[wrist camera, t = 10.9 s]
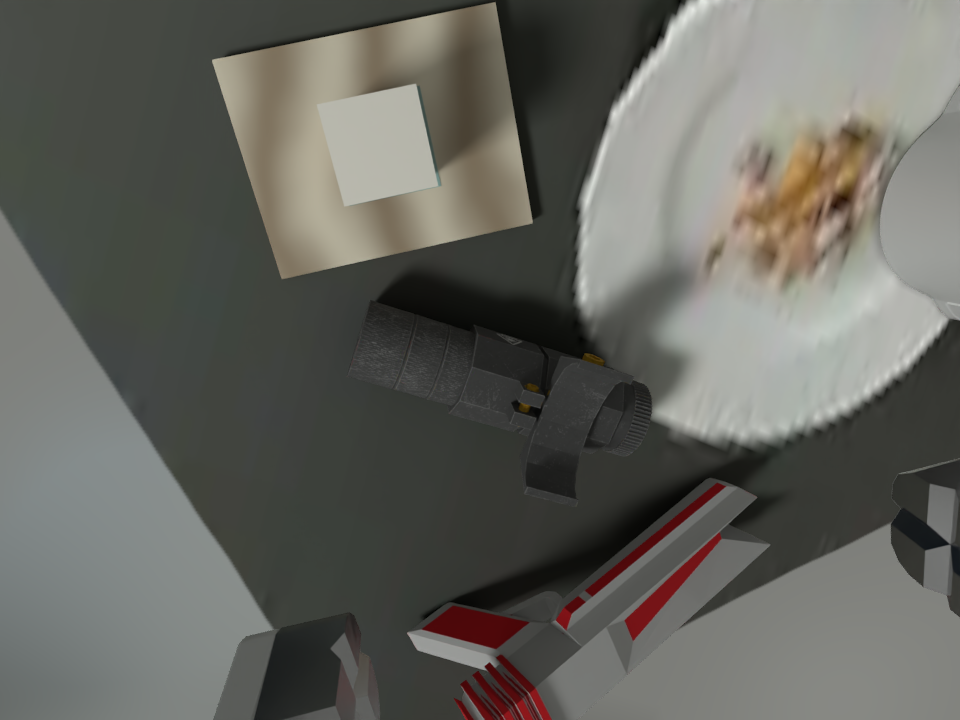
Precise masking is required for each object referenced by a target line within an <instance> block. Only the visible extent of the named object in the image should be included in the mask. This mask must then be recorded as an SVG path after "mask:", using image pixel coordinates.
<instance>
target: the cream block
mask: <svg viewBox="0 0 960 720" xmlns="http://www.w3.org/2000/svg"><path fill="white" fill-rule="evenodd" d="M317 108H318V111H319V115H320V119H321V123H322V126H323V130H324V134H325V137H326V141H327V145H328V148H329V152H330V156H331V159H332V163H333V167H334V170H335V174H336V178H337V181H338V185H339V189H340V192H341V196H342V200H343V203H344V207H345V206H350V205H354V204H359V203H364V202H368V201H373V200H377V199H382V198H386V197H391V196H396V195H400V194H405V193H409V192H414V191H419V190H423V189H428V188H432V187H437V186H438V182H437V178H436V173H435V169H434V164H433V159H432V155H431V150H430V146H429V141H428V136H427V132H426V127H425V123H424V118H423V113H422V109H421V104H420V100H419V95H418V90H417V86H416V84H412V85H407V86H402V87H398V88H393V89H388V90H383V91H379V92H374V93H369V94H364V95H359V96H355V97H350V98H345V99H340V100H336V101H331V102H326V103H321V104H317Z"/></svg>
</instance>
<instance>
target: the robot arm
mask: <svg viewBox="0 0 960 720" xmlns="http://www.w3.org/2000/svg"><path fill="white" fill-rule="evenodd" d="M880 237H881V244H882V248H883V252H884V255H885V257H886V260H887V262H888V264H889V266H890V267H891V269H892V270H893V272H894V273H895V274H896V276H897V277H898V278H899V279H900V280H901V281H903V282H904V283H905V284H906V285H908V286H909V287H911V288H913V289H915V290H917V291H919V292H922V293H924V294H926V295H928V296H929V297H931V298H932V299H933V300H934V302H935V303H936V305H937V306H938V308H939V309H940V310H941V312H942V313H943V314H944V315H945V316H946V317H948V318H950V319H955V320H960V85H959V87H958V88H957V90H956V91H955V93H954V95H953V96H952V98H951V100H950V102H949V103H948V105H947V107H946V109H945V111H944V113H943V114H942V115H941V117H940V118H939V119H938V120H937V121H936V122H935V123H934V124H933V125H932V126H931V127H930V128H929V129H928V130H927V131H926V132H924V133H923V134H922V135H921V136H920V137H919V138H918V139H917V140H916V141H915V143H914V144H913V145H912V146H911V147H910V148H909V150H908V151H907V152H906V154H905V155H904V157H903V158H902V160H901V161H900V163H899V164H898V166H897V168H896V170H895V171H894V173H893V175H892V178H891V180H890V182H889V185H888V187H887V190H886V193H885V196H884V200H883V204H882V209H881V217H880ZM892 500H893V501H894V502H895V503H896V504H897V505H898V506H899V507H900V508H901V509H900V511H899V512H898V514H897V515H896V517H895V518H894V520H893V521H892V523H891V544H892V546H893V549H894V551H895V554H896V556H897V558H898V561H899V562H900V564H901V565H902V566H903V568H904V569H905V570H906V571H907V573H908V574H909V575H910V576H911V577H912V578H913V579H915V580H916V581H917V582H918V583H919V584H920V585H922V586H923V587H925V588H927V589H930V590H933V591H936V592H939V593H942V594H944V595H947V597H948V602H949V607H950V610H951V611H953V612H954V613H955V614H956V615H958V616H959V617H960V458H959V459H955V460H951V461H947V462H943V463H939V464H935V465H931V466H927V467H924V468H920V469H916V470H912V471H908V472H904V473H900V474H898V475H897V477H896V479H895V480H894V482H893V484H892ZM360 643H361V632H360V629H359V626H358V624H357V621H356V619H355V616H354V615H353V614H351V613H350V612H348V613H344V614H339V615H335V616H331V617H326V618H322V619H317V620H313V621H309V622H304V623H300V624H296V625H291V626H287V627H282V628H281V629H276V630H272V631H267V632H263V633H259V634H255V635H250V636H246V637H245V638H244V639H243V640H242V641H241V642H240V643H239V645H238V647H237V650H236V653H235V657H234V659H233V662H232V666H231V668H230V671H229V674H228V678H227V680H226V683H225V686H224V689H223V692H222V695H221V698H220V701H219V704H218V707H217V710H216V713H215V716H214V719H213V720H380V706H379V696H378V687H377V682H376V678H375V673H374V670H373V667H372V664H371V660H370V658H369V657H368V656H366V655H365V654H363V653H361V652H360Z"/></svg>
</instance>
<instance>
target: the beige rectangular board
mask: <svg viewBox="0 0 960 720" xmlns="http://www.w3.org/2000/svg"><path fill="white" fill-rule="evenodd" d="M212 62H213V65H214V68H215V71H216V75H217V78H218V81H219V84H220V87H221V90H222V93H223V96H224V100H225V103H226V106H227V109H228V112H229V115H230V118H231V122H232V125H233V128H234V131H235V134H236V137H237V140H238V143H239V147H240V150H241V153H242V156H243V159H244V162H245V165H246V168H247V172H248V175H249V178H250V181H251V184H252V187H253V190H254V194H255V197H256V200H257V203H258V206H259V209H260V212H261V215H262V219H263V222H264V225H265V228H266V231H267V234H268V237H269V240H270V244H271V247H272V250H273V253H274V256H275V259H276V262H277V266H278V269H279V272H280V275H281V278H282V279H285V278H289V277H294V276H298V275H303V274H307V273H312V272H316V271H321V270H325V269H330V268H334V267H339V266H343V265H348V264H352V263H356V262H361V261H365V260H370V259H374V258H379V257H383V256H388V255H392V254H397V253H401V252H406V251H410V250H415V249H419V248H424V247H428V246H433V245H437V244H442V243H446V242H451V241H455V240H460V239H464V238H468V237H473V236H477V235H482V234H486V233H491V232H495V231H500V230H504V229H509V228H513V227H518V226H522V225H527V224H531V223H533V221H532V215H531V209H530V203H529V197H528V191H527V185H526V180H525V174H524V168H523V162H522V156H521V150H520V144H519V138H518V132H517V126H516V120H515V114H514V109H513V103H512V97H511V91H510V85H509V79H508V73H507V67H506V61H505V55H504V49H503V44H502V38H501V32H500V26H499V20H498V14H497V8H496V2H493V3H488V4H484V5H479V6H474V7H469V8H464V9H459V10H454V11H449V12H444V13H439V14H435V15H430V16H425V17H420V18H415V19H410V20H405V21H400V22H395V23H391V24H386V25H381V26H376V27H371V28H366V29H361V30H356V31H351V32H347V33H342V34H337V35H332V36H327V37H322V38H317V39H312V40H307V41H302V42H298V43H293V44H288V45H283V46H278V47H273V48H268V49H263V50H258V51H254V52H249V53H244V54H239V55H234V56H229V57H224V58H219V59H214V60H212ZM412 84H416V86H417V90H418V95H419V100H420V104H421V109H422V113H423V118H424V123H425V127H426V132H427V136H428V141H429V146H430V150H431V155H432V159H433V164H434V169H435V173H436V178H437V182H438V186H437V187H432V188H428V189H423V190H419V191H414V192H409V193H405V194H400V195H396V196H391V197H386V198H382V199H377V200H373V201H368V202H364V203H359V204H354V205H350V206H345V207H344V203H343V200H342V196H341V192H340V189H339V185H338V181H337V178H336V174H335V170H334V167H333V163H332V159H331V156H330V152H329V148H328V145H327V141H326V137H325V134H324V130H323V126H322V123H321V119H320V115H319V111H318V108H317V104H321V103H326V102H331V101H336V100H340V99H345V98H350V97H355V96H359V95H364V94H369V93H374V92H379V91H383V90H388V89H393V88H398V87H402V86H407V85H412Z"/></svg>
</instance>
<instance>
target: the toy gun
mask: <svg viewBox="0 0 960 720" xmlns="http://www.w3.org/2000/svg"><path fill="white" fill-rule="evenodd" d="M756 498H757V497H756V496H754V495H752V494H750V493H749V492H747V491H745V490H743V489H741V488H739V487H737V486H734V485H732V484H729V483H727V482H724V481H720V480H717V479H713V478H708V479H706V480H705V481H704V482H702V483H701V484H700V485H699V486H698V487H696V488H695V489H694V490H693V491H692V492H690V493H689V494H688V495H687V496H686V497H684V498H683V499H682V500H681V501H680V502H678V503H677V504H676V505H675V506H674V507H672V508H671V509H670V510H669V511H668V512H666V513H665V514H664V515H663V516H662V517H660V518H659V519H658V520H657V521H656V522H654V523H653V524H652V525H651V526H650V527H648V528H647V529H646V530H645V531H644V532H642V533H641V534H640V535H639V536H638V537H636V538H635V539H634V540H633V541H632V542H630V543H629V544H628V545H627V546H626V547H624V548H623V549H622V550H621V551H620V552H618V553H617V554H616V555H615V556H614V557H612V558H611V559H610V560H609V561H608V562H606V563H605V564H604V565H603V566H602V567H600V568H599V569H598V570H597V571H596V572H594V573H593V574H592V575H591V576H590V577H588V578H587V579H586V580H585V581H584V582H582V583H581V584H580V585H579V586H578V587H576V588H575V589H574V590H573V591H572V592H570V593H569V594H568V595H567V596H566V597H564V598H562V597H561V596H560V595H559V594H557V593H556V592H551V591H545V592H543V593H540V594H538V595H536V596H534V597H532V598H530V599H528V600H526V601H524V602H521V603H519V604H517V605H515V606H513V607H511V608H509V609H507V610H505V611H503V612H501V613H498V612H494V611H489V610H484V609H480V608H475V607H470V606H466V605H461V604H456V603H452V602H449V603H447V604H445V605H443V606H442V607H441V608H439V609H438V610H437V611H435V612H434V613H433V614H431V615H430V616H429V617H427V618H426V619H425V620H423V621H422V622H421V623H419V624H418V625H417V626H415V627H414V628H413V629H411V630H410V631H409V632H407V633H408V635H409V637H410V638H411V640H412V642H413V643H414V645H415V647H416V649H417V650H418V651H422V652H425V653H429V654H432V655H435V656H439V657H442V658H445V659H449V660H452V661H456V662H459V663H462V664H466V665H469V666H473V667H476V668H479V669H483V670H486V671H487V672H488V673H487V674H486V675H485V676H484V677H483V676H482V675H481V674H480V673H479V671H477V672H476V673H475V674H473V675H472V676H473V677H474V679H475V680H476V683H474V684H473V685H472V686H470V684H469V683H468V682H467V680H465V681H464V682H463V683H461V684H460V685H461V687H462V688H463V690H464V694H463V698H462V701H459V700H457V699H455V698H454V700H455V701H456V703H457V705H458V706H459V708H460V710H461V712H462V713H463V715H464V717H465V718H466V720H578V719H579V718H580V717H581V716H582V715H583V714H584V713H586V712H587V711H588V710H589V709H590V708H591V707H592V706H593V705H594V704H595V703H597V702H598V701H599V700H600V699H601V698H602V697H603V696H604V695H605V694H607V693H608V692H609V691H610V690H611V689H612V688H613V687H614V686H615V685H616V684H618V683H619V682H620V681H621V680H622V679H623V678H624V677H625V676H626V675H628V673H630V672H631V671H632V670H633V669H634V668H635V667H636V666H637V665H639V663H641V662H642V661H643V660H644V659H645V658H646V657H647V656H649V654H651V653H652V652H653V651H654V650H655V649H656V648H657V647H658V646H659V645H660V644H662V643H663V642H664V641H665V640H666V639H667V638H668V637H669V636H671V635H672V634H673V633H674V632H675V631H676V630H677V629H678V628H679V627H681V626H682V625H683V624H684V623H685V622H686V621H687V620H688V619H689V618H690V617H692V616H693V615H694V614H695V613H696V612H697V611H698V610H699V609H700V608H702V607H703V606H704V605H705V604H706V603H707V602H708V601H709V600H710V599H711V598H713V597H714V596H715V595H716V594H717V593H718V592H719V591H720V590H721V589H722V588H724V587H725V586H726V585H727V584H728V583H729V582H730V581H731V580H732V579H734V578H735V577H736V576H737V575H738V574H739V573H740V572H741V571H742V570H743V569H745V568H746V567H747V566H748V565H749V564H750V563H751V562H752V561H753V560H755V559H756V558H757V557H758V556H759V555H760V554H761V553H762V552H763V551H764V550H766V549H767V548H768V547H769V546H770V545H771V544H769V543H767V542H764V541H762V540H760V539H758V538H756V537H754V536H752V535H750V534H748V533H746V532H744V531H741V530H739V529H737V528H735V527H733V526H731V525H729V523H730V522H731V521H732V520H733V519H734V518H735V517H736V516H738V515H739V514H740V513H741V512H742V511H743V510H744V509H745V508H746V507H747V506H749V505H750V504H751V503H752V502H753V501H754V500H755V499H756ZM551 617H552V619H551V621H550V624H549V623H545V622H543V621H546V620H548V619H549V618H551Z"/></svg>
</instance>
